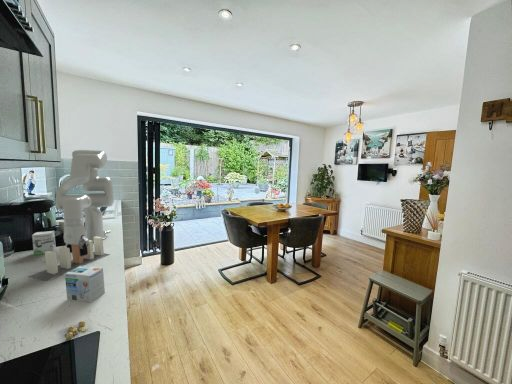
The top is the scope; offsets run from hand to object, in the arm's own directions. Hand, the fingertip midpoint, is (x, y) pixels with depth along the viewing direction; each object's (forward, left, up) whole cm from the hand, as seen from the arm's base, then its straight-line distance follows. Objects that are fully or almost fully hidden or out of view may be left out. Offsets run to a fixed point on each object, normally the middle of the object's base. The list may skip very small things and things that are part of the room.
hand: (77, 253), depth 111 cm
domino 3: (-5, 0, -5) cm, 7 cm away
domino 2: (+6, 0, -5) cm, 7 cm away
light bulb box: (+18, +33, -5) cm, 38 cm away
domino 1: (+11, 0, -5) cm, 12 cm away
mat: (+2, 0, -5) cm, 5 cm away
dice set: (+32, +49, -6) cm, 58 cm away
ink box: (-3, -32, -5) cm, 32 cm away
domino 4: (-11, 0, -5) cm, 12 cm away
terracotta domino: (0, 0, -5) cm, 5 cm away
